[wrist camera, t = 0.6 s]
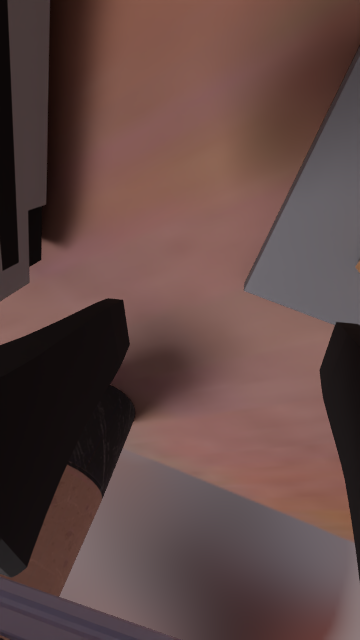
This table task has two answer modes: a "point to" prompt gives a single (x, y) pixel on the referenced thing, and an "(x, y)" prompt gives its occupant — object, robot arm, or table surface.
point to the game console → (22, 136)
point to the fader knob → (358, 266)
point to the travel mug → (78, 494)
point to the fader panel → (320, 222)
